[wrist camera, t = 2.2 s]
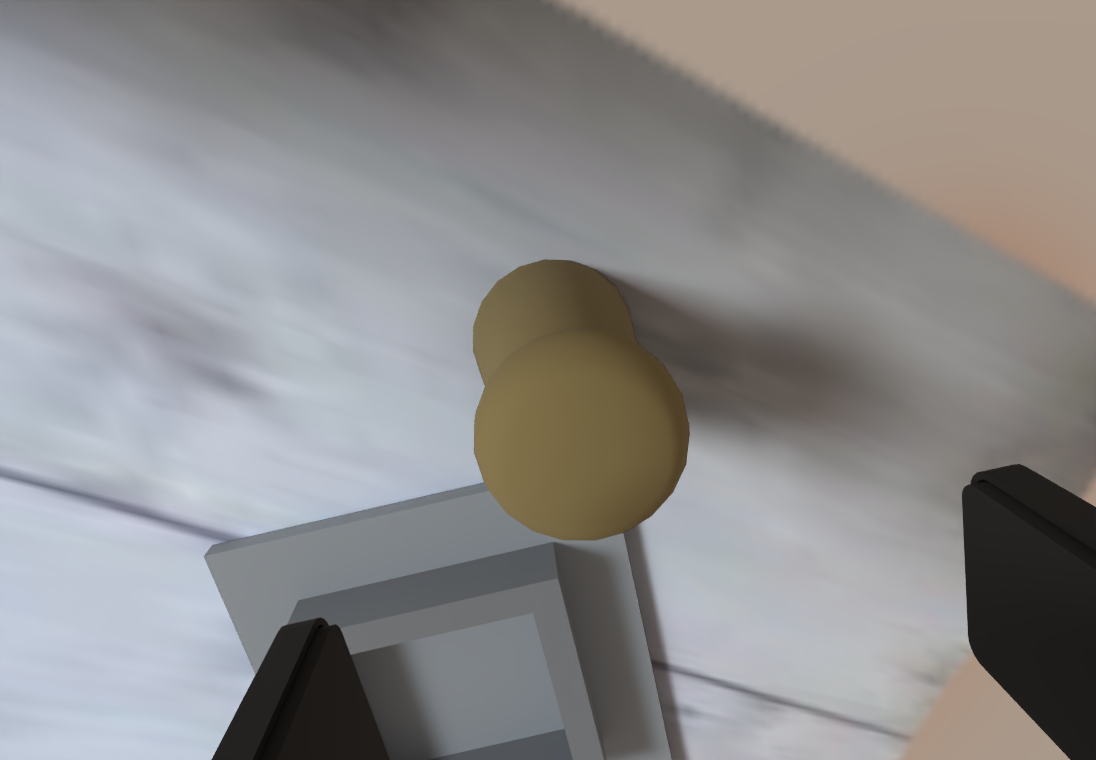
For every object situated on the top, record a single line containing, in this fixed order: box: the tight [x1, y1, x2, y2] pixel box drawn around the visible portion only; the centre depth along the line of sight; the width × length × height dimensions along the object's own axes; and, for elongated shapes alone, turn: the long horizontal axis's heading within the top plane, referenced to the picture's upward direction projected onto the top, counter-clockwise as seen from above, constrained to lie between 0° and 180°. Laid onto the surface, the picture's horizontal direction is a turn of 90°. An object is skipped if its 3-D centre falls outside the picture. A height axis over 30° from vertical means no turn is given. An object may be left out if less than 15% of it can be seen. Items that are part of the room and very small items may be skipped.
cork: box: [473, 260, 690, 541], centre depth 20 cm, size 6×6×11 cm
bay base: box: [204, 483, 672, 760], centre depth 28 cm, size 16×16×3 cm
